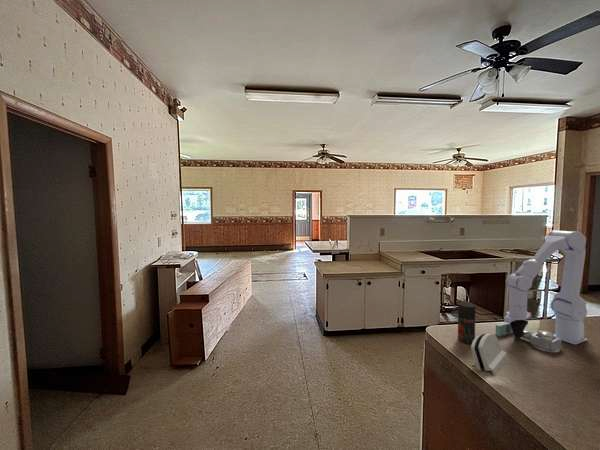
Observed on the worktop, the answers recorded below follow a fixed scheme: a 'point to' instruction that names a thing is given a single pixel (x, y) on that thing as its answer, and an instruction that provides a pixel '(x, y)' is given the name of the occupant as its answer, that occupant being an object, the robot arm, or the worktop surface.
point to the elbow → (542, 341)
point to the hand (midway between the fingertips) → (517, 337)
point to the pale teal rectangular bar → (503, 329)
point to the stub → (549, 337)
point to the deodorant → (466, 322)
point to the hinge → (488, 353)
